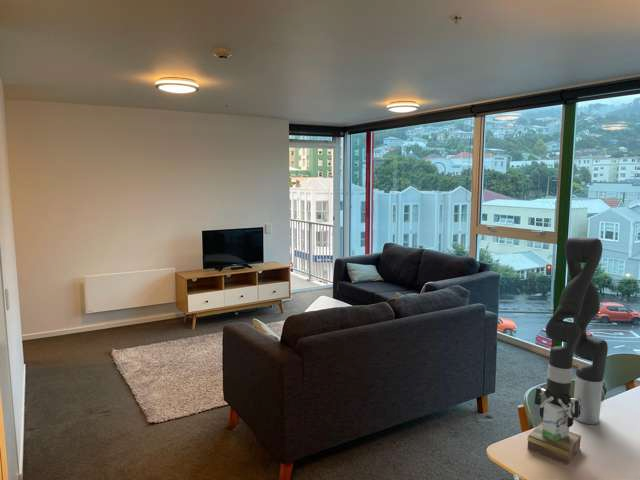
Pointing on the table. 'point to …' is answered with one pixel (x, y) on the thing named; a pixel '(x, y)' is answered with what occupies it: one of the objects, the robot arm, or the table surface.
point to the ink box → (554, 422)
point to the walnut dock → (554, 445)
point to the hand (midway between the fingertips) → (555, 421)
